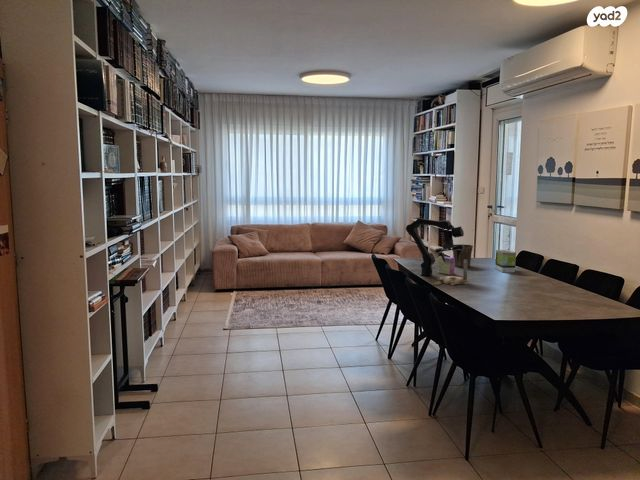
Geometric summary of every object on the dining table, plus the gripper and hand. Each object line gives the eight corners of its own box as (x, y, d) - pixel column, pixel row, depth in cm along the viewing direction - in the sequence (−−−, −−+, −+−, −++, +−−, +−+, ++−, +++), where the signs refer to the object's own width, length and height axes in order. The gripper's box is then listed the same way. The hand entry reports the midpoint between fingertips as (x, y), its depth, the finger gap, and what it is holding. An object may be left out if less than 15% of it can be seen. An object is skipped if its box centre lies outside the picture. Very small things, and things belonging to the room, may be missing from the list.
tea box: (515, 272, 356) (516, 252, 354) (501, 272, 356) (502, 252, 354) (508, 268, 371) (508, 249, 369) (494, 268, 371) (495, 249, 369)
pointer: (435, 284, 316) (435, 281, 316) (433, 284, 318) (433, 280, 318) (441, 284, 318) (441, 280, 318) (438, 283, 320) (438, 280, 320)
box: (454, 273, 352) (454, 257, 351) (449, 274, 349) (450, 258, 347) (442, 271, 360) (442, 255, 359) (437, 272, 357) (437, 256, 355)
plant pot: (446, 265, 387) (447, 244, 385) (462, 263, 394) (463, 243, 392) (460, 268, 373) (461, 247, 371) (477, 266, 379) (477, 246, 377)
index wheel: (437, 284, 316) (437, 261, 314) (437, 277, 336) (438, 256, 335) (468, 285, 312) (469, 262, 310) (466, 279, 332) (467, 257, 330)
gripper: (431, 240, 332) (434, 263, 330) (458, 235, 323) (462, 259, 320) (436, 241, 341) (439, 263, 339) (463, 237, 332) (466, 259, 330)
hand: (451, 261), depth 332 cm, fingers open, 9 cm apart
